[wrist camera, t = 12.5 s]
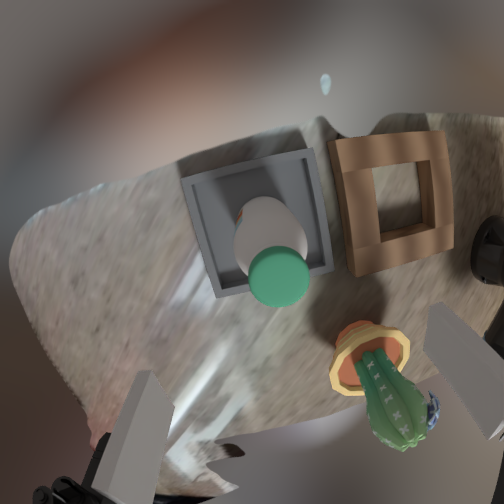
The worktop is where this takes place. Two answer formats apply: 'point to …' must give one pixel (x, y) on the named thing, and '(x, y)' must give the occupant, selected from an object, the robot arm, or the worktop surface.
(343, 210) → the block
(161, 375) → the worktop surface
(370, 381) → the potted cactus
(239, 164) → the tray
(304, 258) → the milk bottle
